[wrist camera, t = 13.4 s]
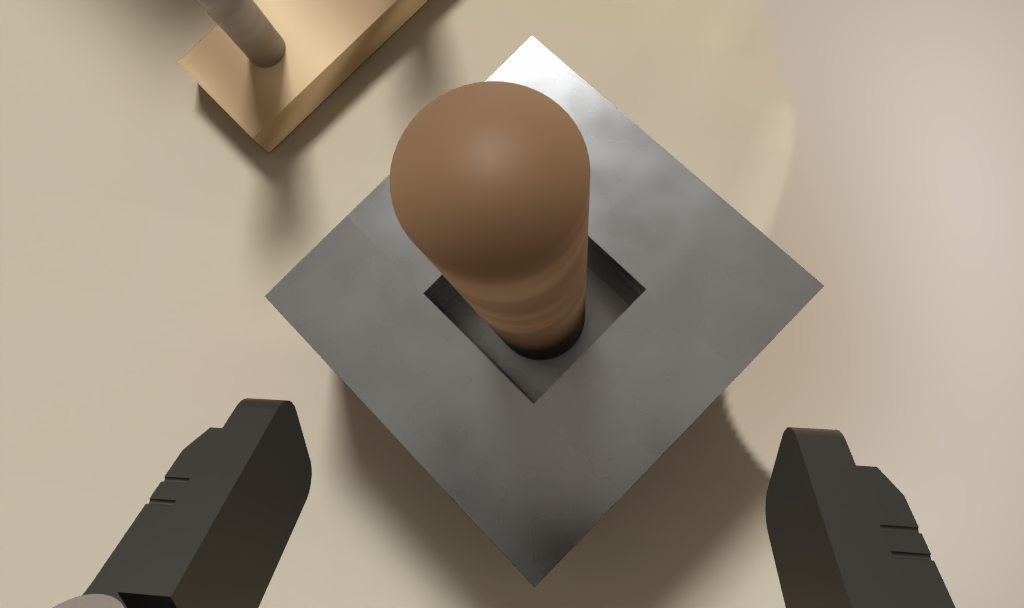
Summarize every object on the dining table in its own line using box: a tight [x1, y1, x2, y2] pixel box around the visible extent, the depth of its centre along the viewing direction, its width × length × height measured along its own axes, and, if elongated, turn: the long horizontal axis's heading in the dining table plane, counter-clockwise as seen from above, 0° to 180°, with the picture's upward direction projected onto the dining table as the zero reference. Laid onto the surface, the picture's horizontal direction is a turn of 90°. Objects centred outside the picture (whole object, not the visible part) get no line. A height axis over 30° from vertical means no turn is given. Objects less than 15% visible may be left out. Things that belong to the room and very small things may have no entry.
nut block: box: [265, 36, 824, 587], centre depth 23 cm, size 12×12×6 cm
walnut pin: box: [390, 81, 591, 360], centre depth 18 cm, size 3×3×14 cm
